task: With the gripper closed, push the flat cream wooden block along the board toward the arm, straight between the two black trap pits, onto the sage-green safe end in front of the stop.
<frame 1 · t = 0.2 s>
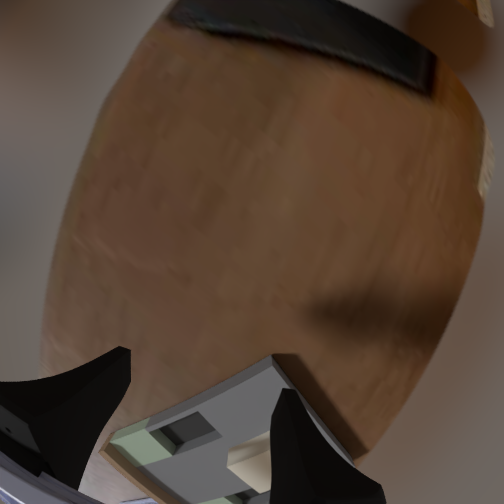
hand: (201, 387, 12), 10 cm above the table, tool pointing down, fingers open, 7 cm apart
cream block: (267, 453, 22), point 2 cm above the table, touching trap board
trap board: (228, 456, 24), on the table
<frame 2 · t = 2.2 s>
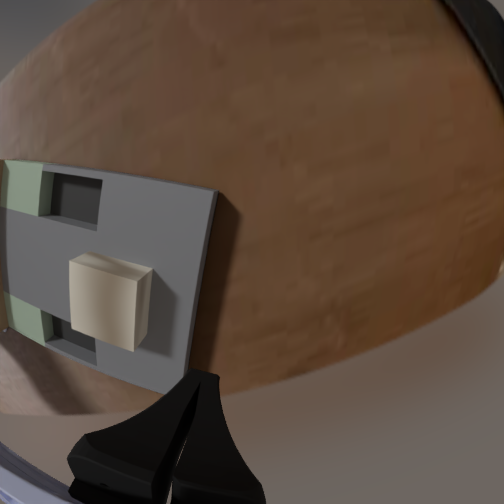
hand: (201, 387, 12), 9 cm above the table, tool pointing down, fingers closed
cream block: (117, 293, 19), point 2 cm above the table, touching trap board
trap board: (81, 269, 21), on the table
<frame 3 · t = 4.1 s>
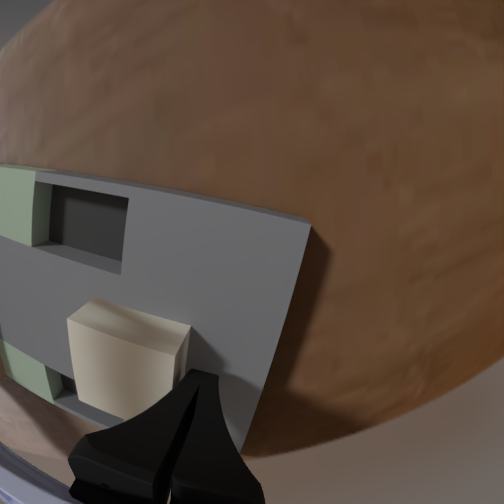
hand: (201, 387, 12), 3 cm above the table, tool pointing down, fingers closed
cream block: (138, 353, 13), point 2 cm above the table, touching gripper, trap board
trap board: (97, 316, 15), on the table
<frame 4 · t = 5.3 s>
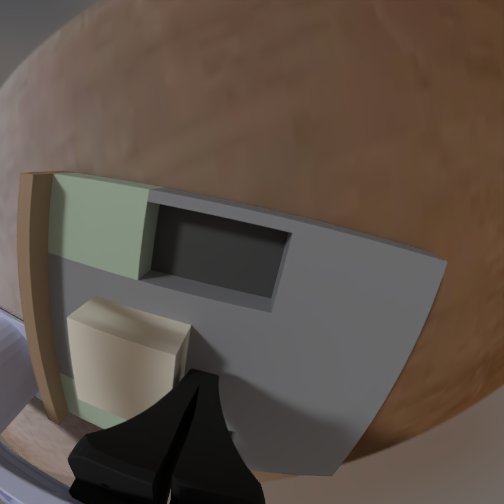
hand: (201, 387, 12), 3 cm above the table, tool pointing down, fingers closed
cream block: (137, 353, 13), point 2 cm above the table, touching gripper
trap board: (208, 350, 15), on the table
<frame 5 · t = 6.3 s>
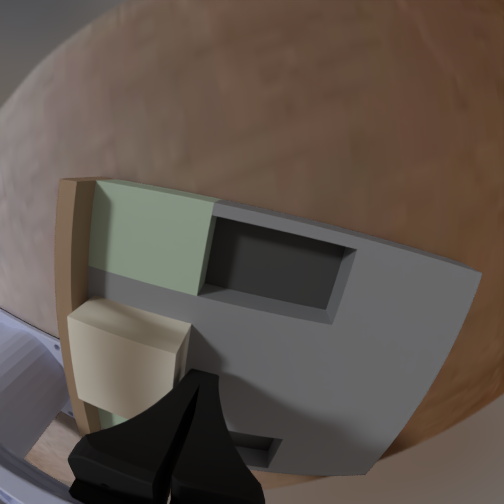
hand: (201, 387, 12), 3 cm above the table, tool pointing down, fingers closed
cream block: (138, 352, 13), point 2 cm above the table, touching gripper, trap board
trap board: (257, 361, 15), on the table
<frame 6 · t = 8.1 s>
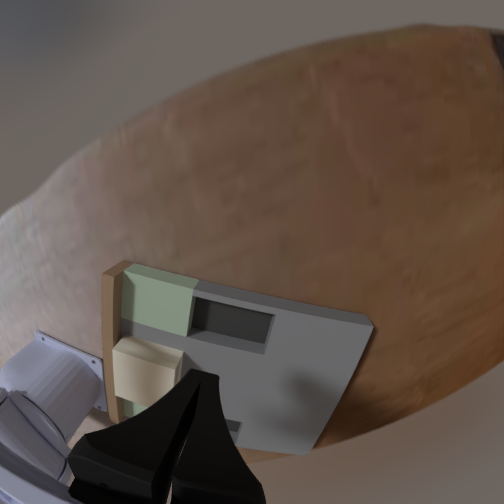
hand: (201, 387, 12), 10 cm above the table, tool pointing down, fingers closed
cream block: (152, 366, 22), point 2 cm above the table, touching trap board
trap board: (225, 372, 24), on the table
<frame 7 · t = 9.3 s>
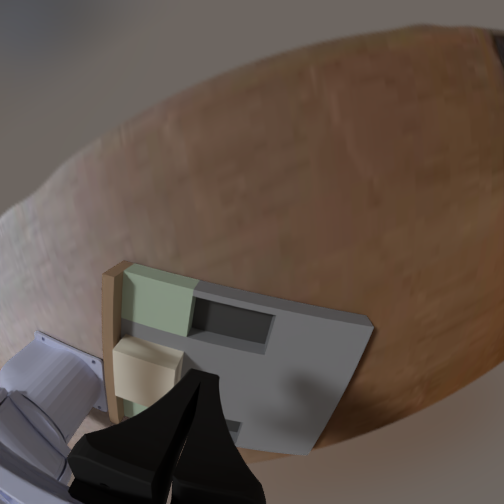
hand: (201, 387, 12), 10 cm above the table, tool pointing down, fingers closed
cream block: (152, 366, 22), point 2 cm above the table, touching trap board
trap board: (225, 372, 24), on the table
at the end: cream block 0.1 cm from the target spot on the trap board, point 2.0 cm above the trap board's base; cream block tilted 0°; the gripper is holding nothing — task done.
